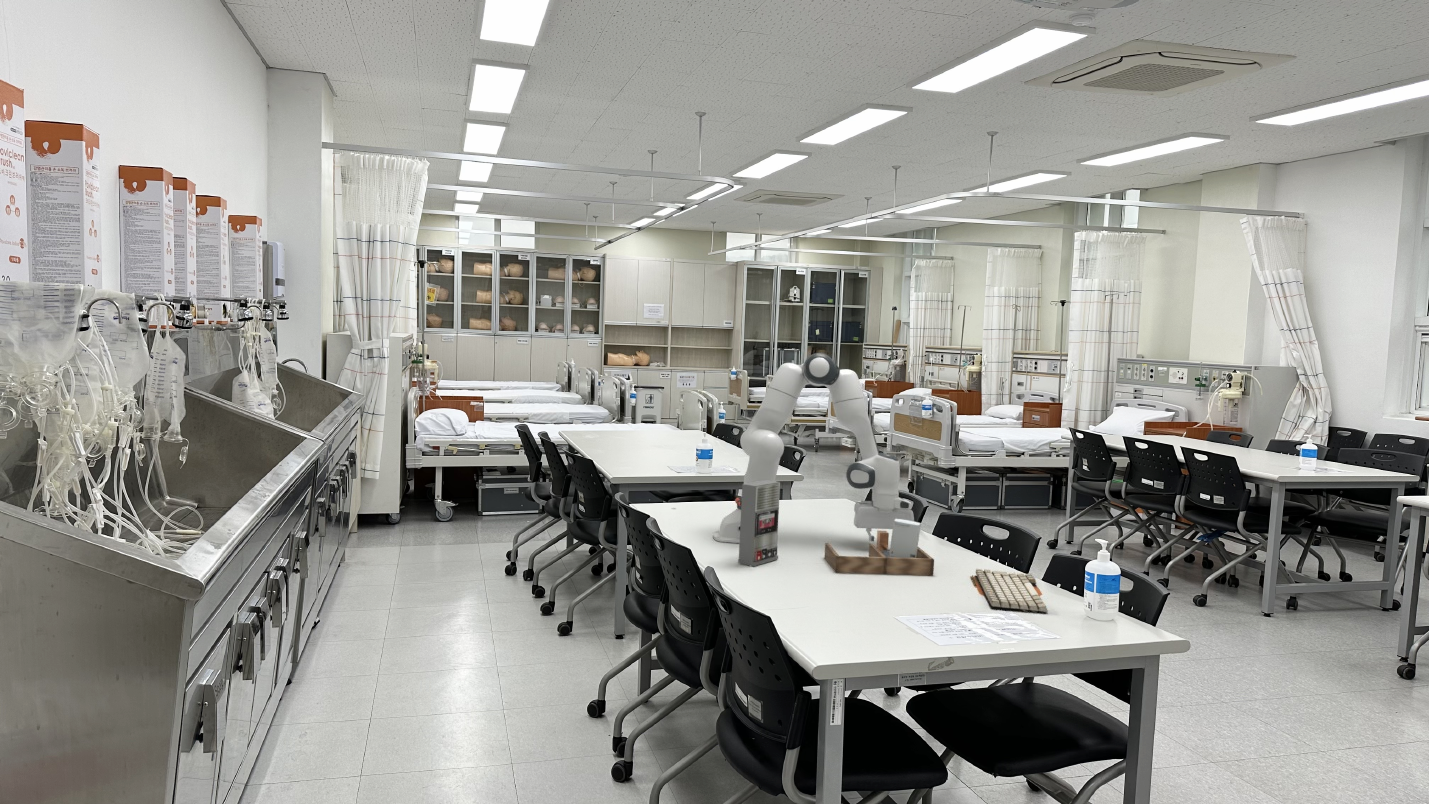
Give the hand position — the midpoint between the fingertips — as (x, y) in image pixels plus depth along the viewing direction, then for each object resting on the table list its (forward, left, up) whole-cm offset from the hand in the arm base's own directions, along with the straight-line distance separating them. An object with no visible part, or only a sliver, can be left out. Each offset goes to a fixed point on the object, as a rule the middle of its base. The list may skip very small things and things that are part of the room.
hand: (882, 541), depth 306 cm
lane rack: (-7, -23, -3) cm, 24 cm away
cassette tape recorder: (-45, -21, -3) cm, 50 cm away
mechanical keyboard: (+25, -50, -4) cm, 56 cm away
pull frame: (0, -14, -3) cm, 14 cm away
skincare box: (0, -24, -3) cm, 25 cm away
